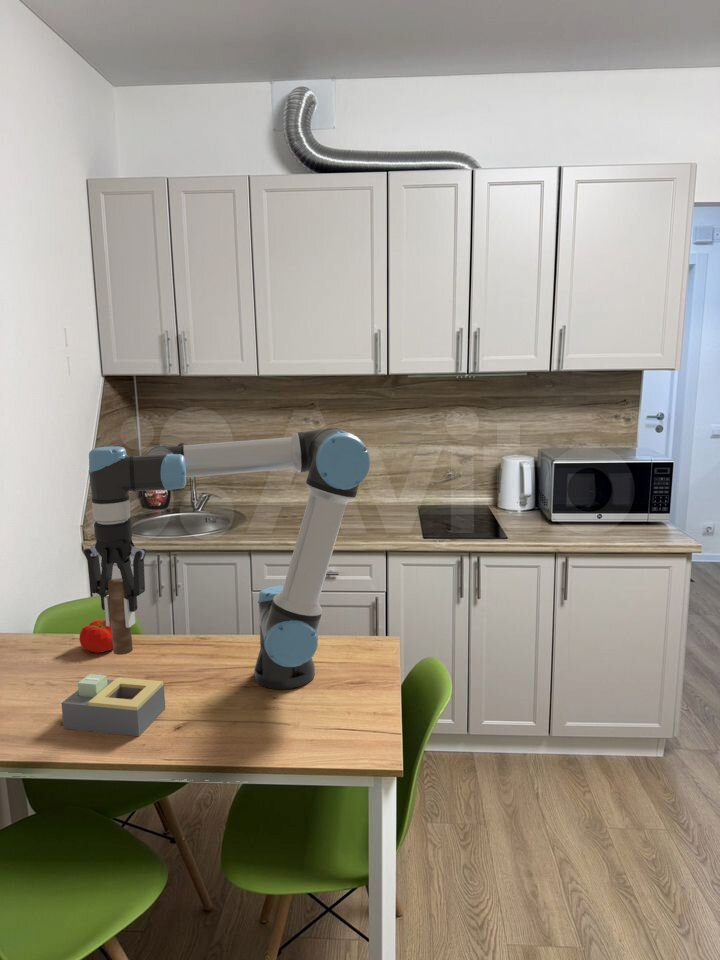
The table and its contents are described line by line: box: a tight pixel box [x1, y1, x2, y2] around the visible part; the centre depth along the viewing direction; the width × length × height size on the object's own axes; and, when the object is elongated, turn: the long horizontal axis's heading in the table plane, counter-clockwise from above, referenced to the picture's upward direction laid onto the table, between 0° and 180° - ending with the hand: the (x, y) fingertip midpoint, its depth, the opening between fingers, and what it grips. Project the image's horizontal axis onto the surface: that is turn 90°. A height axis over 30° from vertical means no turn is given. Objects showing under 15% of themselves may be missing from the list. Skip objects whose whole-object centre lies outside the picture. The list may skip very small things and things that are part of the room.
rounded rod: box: [108, 577, 134, 656], centre depth 154 cm, size 4×4×16 cm
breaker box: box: [61, 676, 166, 737], centre depth 158 cm, size 18×12×7 cm, turn 78°
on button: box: [77, 673, 108, 698], centre depth 159 cm, size 4×4×4 cm
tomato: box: [78, 619, 113, 654], centre depth 196 cm, size 11×11×8 cm
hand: (120, 624), depth 154 cm, fingers closed on rounded rod, 4 cm apart
